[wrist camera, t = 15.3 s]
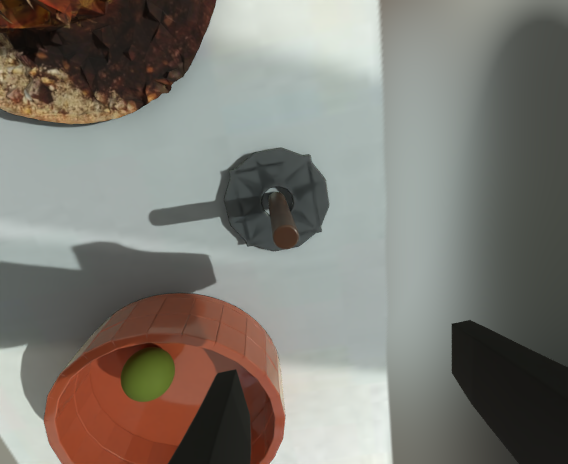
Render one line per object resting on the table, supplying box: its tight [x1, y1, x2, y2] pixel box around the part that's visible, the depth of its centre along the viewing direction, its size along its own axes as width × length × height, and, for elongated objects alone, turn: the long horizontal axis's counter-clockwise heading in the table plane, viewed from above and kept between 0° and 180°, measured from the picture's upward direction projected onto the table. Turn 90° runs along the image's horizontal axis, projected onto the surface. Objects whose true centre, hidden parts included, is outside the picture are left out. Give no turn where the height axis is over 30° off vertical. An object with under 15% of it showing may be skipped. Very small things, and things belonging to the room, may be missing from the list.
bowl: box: [44, 293, 285, 464], centre depth 19 cm, size 13×13×4 cm
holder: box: [224, 148, 329, 251], centre depth 17 cm, size 6×6×1 cm
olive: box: [121, 347, 175, 402], centre depth 18 cm, size 3×3×3 cm
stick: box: [268, 192, 299, 249], centre depth 14 cm, size 1×1×6 cm
